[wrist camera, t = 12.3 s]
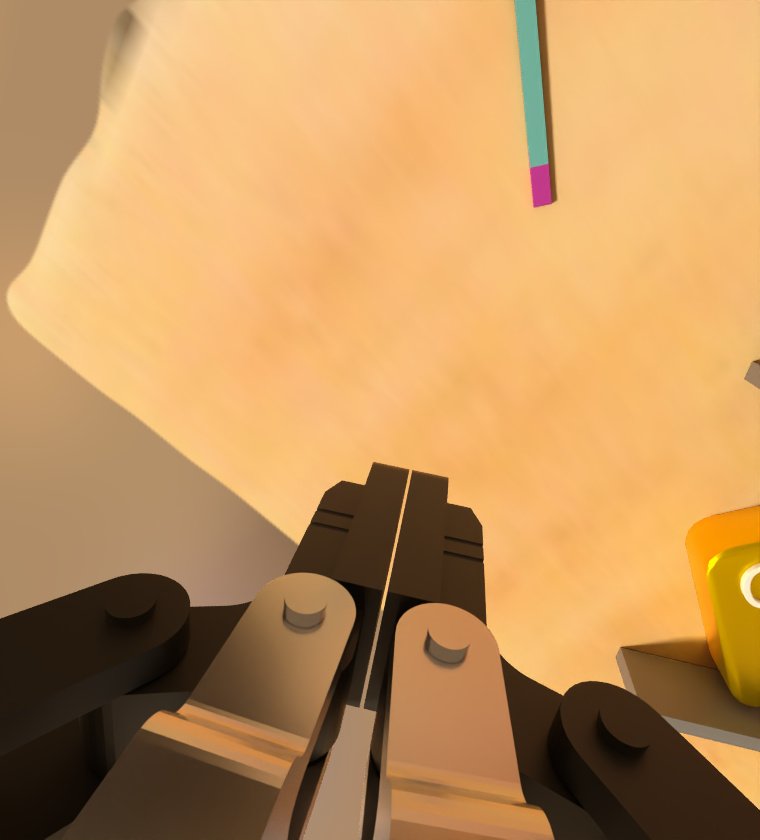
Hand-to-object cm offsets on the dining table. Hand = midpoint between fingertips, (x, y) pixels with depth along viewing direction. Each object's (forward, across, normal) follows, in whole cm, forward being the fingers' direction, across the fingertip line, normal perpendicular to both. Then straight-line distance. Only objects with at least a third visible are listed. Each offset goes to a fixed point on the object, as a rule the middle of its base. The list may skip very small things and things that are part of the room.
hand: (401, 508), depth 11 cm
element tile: (+28, -30, +16) cm, 44 cm away
